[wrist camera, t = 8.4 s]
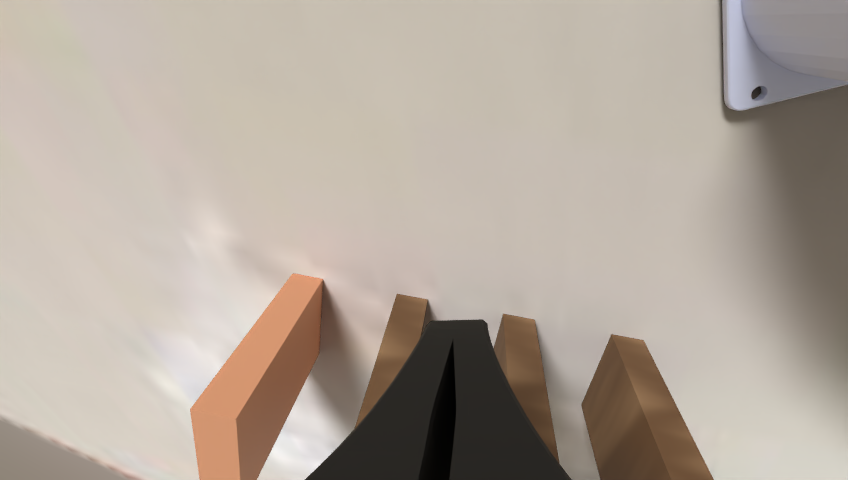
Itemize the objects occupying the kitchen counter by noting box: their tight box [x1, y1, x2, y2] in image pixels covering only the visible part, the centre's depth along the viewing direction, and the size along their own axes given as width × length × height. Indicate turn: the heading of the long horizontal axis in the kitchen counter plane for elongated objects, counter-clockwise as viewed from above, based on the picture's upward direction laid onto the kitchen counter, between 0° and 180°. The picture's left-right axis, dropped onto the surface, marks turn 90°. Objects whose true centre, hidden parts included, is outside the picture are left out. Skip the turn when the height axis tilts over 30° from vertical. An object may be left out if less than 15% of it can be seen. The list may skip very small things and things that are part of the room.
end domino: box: [190, 274, 323, 480], centre depth 20 cm, size 2×5×9 cm, turn 171°
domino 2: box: [494, 314, 559, 463], centre depth 19 cm, size 2×5×9 cm, turn 172°
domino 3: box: [582, 335, 714, 480], centre depth 19 cm, size 2×5×9 cm, turn 172°
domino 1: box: [355, 294, 428, 428], centre depth 20 cm, size 2×5×9 cm, turn 172°
